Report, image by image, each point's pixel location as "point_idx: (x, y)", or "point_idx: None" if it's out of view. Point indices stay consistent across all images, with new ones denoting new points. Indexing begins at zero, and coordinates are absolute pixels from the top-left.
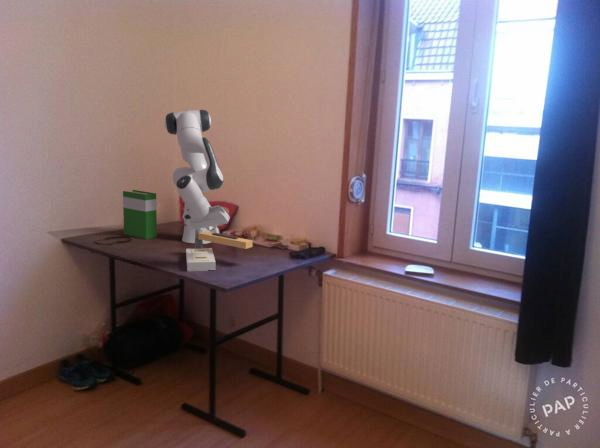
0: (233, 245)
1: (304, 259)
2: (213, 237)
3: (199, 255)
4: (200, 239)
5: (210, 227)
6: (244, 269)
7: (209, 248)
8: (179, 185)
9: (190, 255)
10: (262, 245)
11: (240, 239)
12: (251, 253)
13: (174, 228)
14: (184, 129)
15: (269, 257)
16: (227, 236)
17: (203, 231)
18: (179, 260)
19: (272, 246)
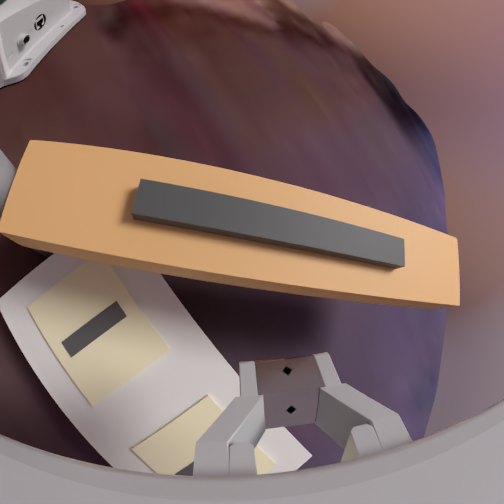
0: (368, 301)
1: (426, 130)
2: (176, 269)
3: (153, 414)
4: (39, 249)
5: (250, 424)
6: (377, 343)
7: None
8: None
9: (109, 438)
10: (243, 18)
11: (414, 253)
12: (270, 102)
13: None
14: None
15: (355, 135)
16: (332, 253)
17: (9, 34)
18: (32, 384)
19: (277, 22)
